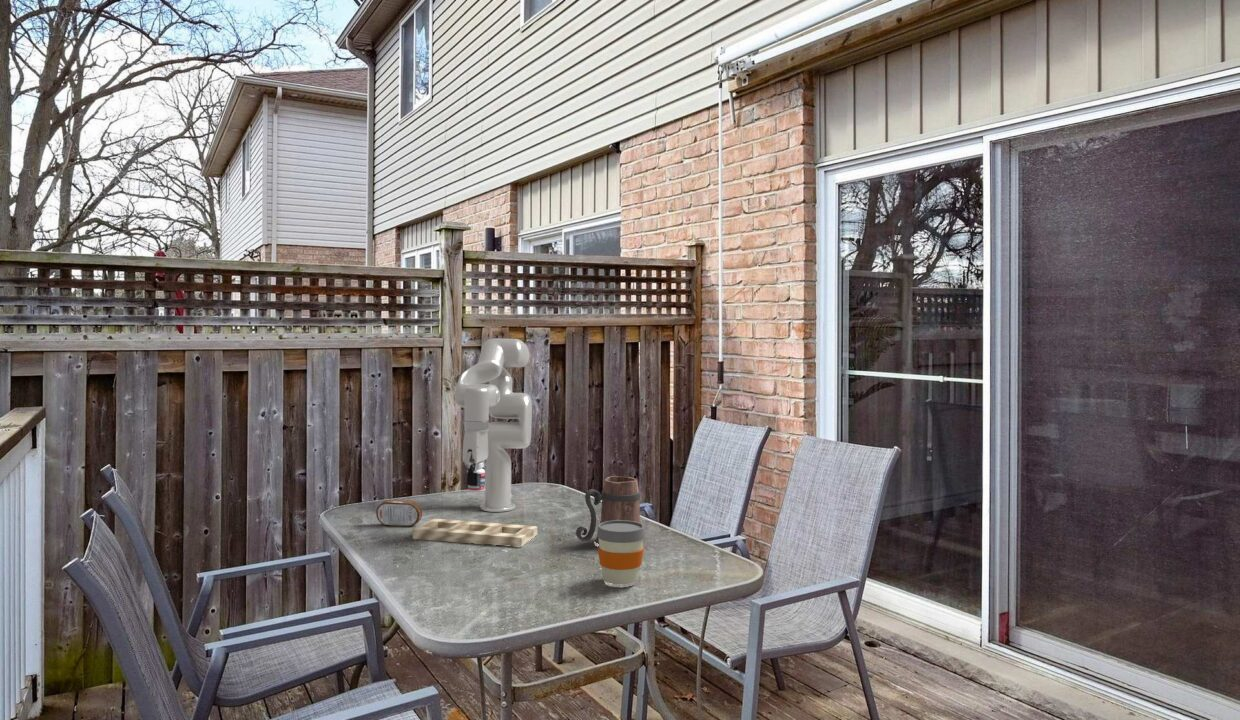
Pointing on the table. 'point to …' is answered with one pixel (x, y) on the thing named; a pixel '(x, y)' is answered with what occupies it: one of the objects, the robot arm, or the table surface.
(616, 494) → the tankard
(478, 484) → the pill bottle
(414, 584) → the table surface
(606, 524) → the reusable coffee cup
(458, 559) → the table surface
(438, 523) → the wooden rack
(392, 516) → the tin
